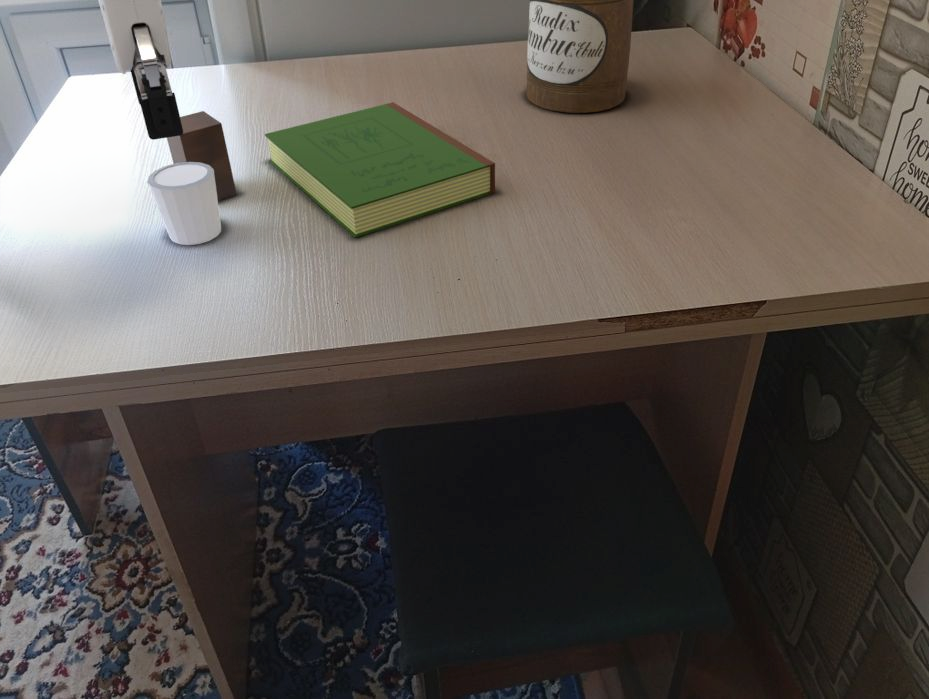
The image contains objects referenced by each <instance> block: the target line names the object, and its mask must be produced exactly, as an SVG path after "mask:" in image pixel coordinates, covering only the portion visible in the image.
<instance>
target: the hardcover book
mask: <svg viewBox="0 0 929 699" xmlns="http://www.w3.org/2000/svg"><path fill="white" fill-rule="evenodd" d="M264 137H265V138H266V139H267V142H268V146H269V152H270V158H271V159H269V163H270V164H271V165H273V166H274V167H275V169H277V170H278V171H279V172H280V173H281V174H283V175H284V176H285V177H286V178H287V179H288V180H290V182H292V183H293V184H294V185H295V186H296V187H297V188H299V189H300V190H301V191H302V192H303V193H304V194H305V195H306V196H308V197H309V198H310V199H311V201H313V202H314V203H315V204H316V205H317V206H319V207H320V208H321V209H322V210H323V211H324V212H326V214H327V215H329V217H331V218H332V219H333V220H334V221H336V222H337V224H339V225H340V226H341V227H342V228H343V229H345V230H346V231H347V232H348V234H350V235H351V236H352V237H353V238H356V239H357V238H359V237H363V236H365V235H369V234H371V233H374V232H377V231H380V230H384V229H387V228H389V227H393V226H396V225H399V224H402V223H405V222H408V221H412V220H414V219H417V218H421V217H424V216H427V215H429V214H433V213H436V212H439V211H443V210H446V209H448V208H451V207H454V206H457V205H460V204H463V203H466V202H470V201H473V200H476V199H480V198H482V197H485V196H488V195H491V194H495V193H496V163H495V162H494V161H493V160H491V159H489V158H487V157H485V156H484V155H482V154H481V153H479V152H478V151H476V150H474V149H472V148H471V147H469V146H467V145H466V144H464V143H462V142H460V141H459V140H457V139H455V138H454V137H452V136H450V135H449V134H448V133H446V132H444V131H442V130H440V129H439V128H438V127H435V126H433V125H432V124H430V123H429V122H427V121H426V120H424V119H422V118H420V117H419V116H417V115H415V114H414V113H412V112H410V111H409V110H407V109H405V108H404V107H402V106H401V105H399V104H397V103H395V102H392V101H391V102H389V103H384V104H381V105H375V106H372V107H367V108H364V109H359V110H355V111H352V112H348V113H344V114H340V115H335V116H331V117H328V118H324V119H320V120H315V121H312V122H308V123H303V124H300V125H295V126H292V127H288V128H283V129H280V130H275V131H271V132H267V133H264Z"/></svg>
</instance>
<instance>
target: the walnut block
mask: <svg viewBox="0 0 929 699" xmlns="http://www.w3.org/2000/svg"><path fill="white" fill-rule="evenodd" d="M180 119H181V124H182V128H183V134H182V135H180V136H174V137H168V138H166V141H167V144H168V148H169V152H170V155H171V156H170V157H171V159H172V164H175V163H183V162H199V163H204V164H207V165H210V166H211V167H212V168H213V169H214V176H215V184H216V191H217V199H218V202H220V201H223V200H225V199H226V200H227V199H228V198H232V197H235V196H237V195H238V193H237V189H236V184H235V180H234V175H233V171H232V166H231V161H230V156H229V153H228V147H227V143H226V139H225V138H226V137H225V134H224V133H225V132H224V129H223V124H222V122H221V121H219V120H218V119H216V118H214V117H213V116H211V115H210V114H208V113H207V112H206V111H204V110H201V111H198V112H194V113H190V114H186V115H183V116H180Z"/></svg>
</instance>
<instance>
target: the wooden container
mask: <svg viewBox="0 0 929 699" xmlns="http://www.w3.org/2000/svg"><path fill="white" fill-rule="evenodd" d="M528 9H529V11H528V12H529V13H528V14H529V16H528V29H527V30H528V33H527V53H526V54H527V56H526V98H527V100H529V101H530V102H531V103H532V104H533V105H535V106H538V107H539V108H542V109H545V110H549V111H552V112H559V113H567V114H585V113H598V112H603V111H607V110H609V109H612V108H615V107H617V106H618V105H621V103H623V102H624V100H625V98H626V91H627V82H628V72H629V67H630V66H629V64H630V53H631V45H632V44H631V42H632V28H633V15H634V14H633V12H634V0H529V8H528Z"/></svg>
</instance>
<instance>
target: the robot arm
mask: <svg viewBox="0 0 929 699" xmlns="http://www.w3.org/2000/svg"><path fill="white" fill-rule="evenodd" d="M97 1H98V6H99V8H100V13H101V16H102V20H103V24H104V27H105V31H106V35H107V39H108V43H109V46H110V49H111V53H112V56H113V59H114V60H113V61H114V63H115V68H116V70H117V71H118V72H119V73H121V74H122V75H127V73H126V71H130V75H131V78H132V81H133V85H134V90H135V93H136V97H137V101H138V104H139V106H140V109H141V112H142V116H143V120H144V124H145V127H146V131H147V135H148V138H149V139H150V140H159V139H160V140H161V139H167V138H168V137H174V136H180V135H182V134H183V128H182V124H181V119H180V117H181V115H180V111H179V107H178V102H177V98H176V94H175V92H173V91H172V90H173V89H172V87H171V83H170V78H169V75H168V71H167V69H168V68H169V67H170V66H171V65H172V57H171V51H170V43H169V38H168V32H167V24H166V20H165V15H164V14H165V13H164V10H163V4H162V0H97Z"/></svg>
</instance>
